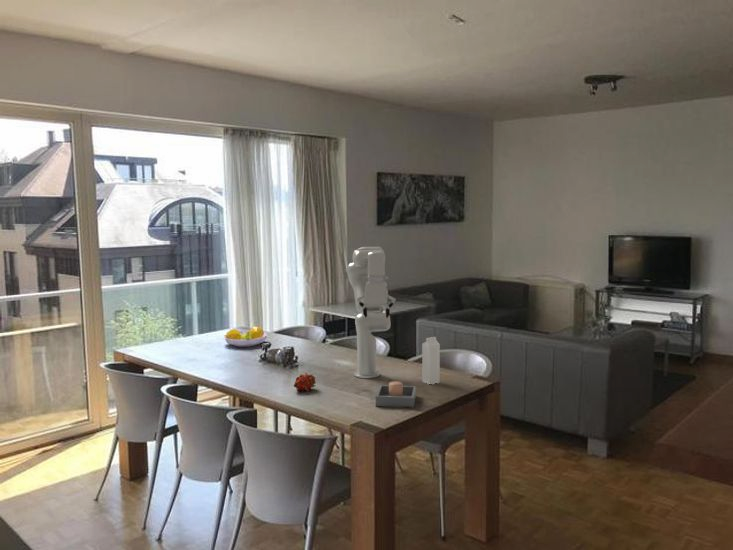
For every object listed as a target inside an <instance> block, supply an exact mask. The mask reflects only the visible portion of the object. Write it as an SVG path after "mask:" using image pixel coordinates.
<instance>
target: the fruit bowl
mask: <svg viewBox="0 0 733 550" xmlns="http://www.w3.org/2000/svg"><path fill="white" fill-rule="evenodd" d="M223 337H224V338H223V339H224V340H225V342H226V343H227V344H229V345H231V346H234V347H236V348H242V347H243V348H248V347H249V348H251V346H252V347H254V346H257V345H259V344H262V343H264V342H265V341H266V339H267V337H268V334H267V332H265V331H264V330H263V329H262V328H261V327H260V326H252V327H251V329H250V330H242V331H240V330H238V329H236V328H233V329H230V330H229V331H227V332H226V334H225V335H223Z"/></svg>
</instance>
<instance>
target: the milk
mask: <svg viewBox="0 0 733 550" xmlns="http://www.w3.org/2000/svg"><path fill="white" fill-rule="evenodd" d="M421 346H422V347H421V348H422V349H421V355H422V362H421V363H422V364H421V367H422V368H421V369H422V370H421V372H422V373H421V375H422V377H421V381H422V383H424V384H426V383H427V385H429V384H432V385H436V384H435V383H437V384H440V380H441V379H440V375H441V372H440V371H441V369H440V366H441V361H440V360H441V357H440V356H441V353H440V352H441V351H440V350H441V345H440V343H439V342H438V340H437V336H430V337H426V338H425V341H424V342H422V344H421Z"/></svg>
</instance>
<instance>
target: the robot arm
mask: <svg viewBox="0 0 733 550" xmlns="http://www.w3.org/2000/svg"><path fill="white" fill-rule="evenodd" d="M385 263H386V254H385V251H384V249H383V248H382V247H381V246H362V247H359V248H357V249H354V250H353V252H352V262H350V263H349V264H348V266H347V269H346V271H347V279H348V282H349V283H350V286H351V287H352V290H353V294H354V302H355V303H354V304H355V307H356V308H355V309H356V310H357V312H358V314H357V315H356V316H355V319H354V322H355V323H354V324H355V331H356V347H357V349H356V352H357V353H356V355H357V357H356V358H357V359H356V360H357V361H356V363H357V369H356V371H355V372H353V373H354V377H356V378H360V379H374V378H378V377H379V376H380V371H379V370H377V339H376V337H375V336H374V335H373V334H372V333H375V332H386V331H388V330H390V328H391V316H390V308H392V307H393V306H394V304H395V303H396V300H397V299H396V298H395V297H393V296H391V295H389V290H388V289H389V288H388V284H387V282H386V281H387V280H389V277H388V276H386V275H385V274H386V270H385V266H386V265H385ZM363 278H365V279H366V278H367V281H365V280H364V279H363ZM389 300H391V302H390V303H389Z"/></svg>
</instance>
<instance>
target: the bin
mask: <svg viewBox="0 0 733 550" xmlns="http://www.w3.org/2000/svg"><path fill="white" fill-rule="evenodd" d="M416 397H417V387H416V385H403V397H399V396H389V384H383V385H382V384H380V385H379V387H378V390H377V391H376V394H375V407H376V406H388V407H387V408H401V407H414V408H415V404H414V403H416Z"/></svg>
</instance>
